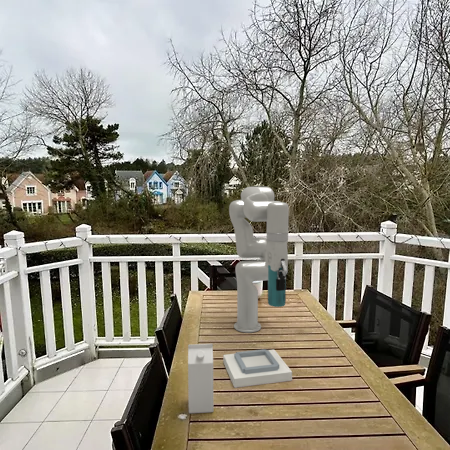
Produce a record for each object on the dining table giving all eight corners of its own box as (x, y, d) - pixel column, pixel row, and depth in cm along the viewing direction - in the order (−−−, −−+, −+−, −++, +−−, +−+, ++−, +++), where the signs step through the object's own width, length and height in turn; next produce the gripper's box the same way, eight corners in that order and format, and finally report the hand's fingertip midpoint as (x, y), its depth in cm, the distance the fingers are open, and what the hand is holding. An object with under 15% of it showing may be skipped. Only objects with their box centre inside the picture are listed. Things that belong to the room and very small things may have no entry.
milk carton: (189, 399, 106) (188, 339, 104) (212, 398, 107) (212, 338, 105) (188, 414, 99) (187, 350, 97) (213, 412, 100) (213, 349, 98)
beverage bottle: (285, 311, 120) (286, 254, 118) (266, 310, 121) (267, 254, 119) (285, 305, 127) (286, 251, 125) (267, 304, 128) (268, 251, 126)
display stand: (223, 362, 129) (223, 350, 129) (274, 357, 133) (274, 345, 133) (234, 387, 112) (234, 374, 112) (292, 380, 117) (292, 367, 116)
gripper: (258, 234, 129) (258, 282, 131) (277, 241, 112) (276, 295, 114) (277, 234, 131) (276, 280, 133) (298, 240, 114) (297, 293, 116)
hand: (276, 287), depth 123 cm, fingers closed on beverage bottle, 6 cm apart
